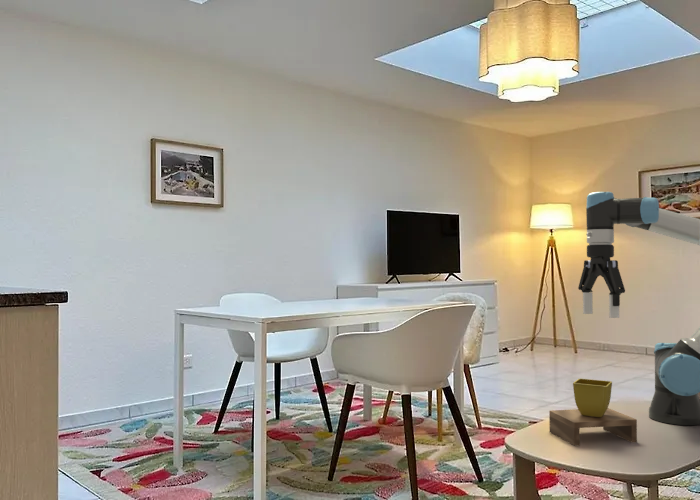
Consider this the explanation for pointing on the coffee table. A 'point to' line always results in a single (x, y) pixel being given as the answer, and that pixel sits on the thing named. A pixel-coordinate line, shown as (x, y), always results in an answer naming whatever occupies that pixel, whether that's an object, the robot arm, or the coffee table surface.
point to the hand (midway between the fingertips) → (600, 315)
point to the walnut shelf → (591, 424)
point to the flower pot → (592, 396)
